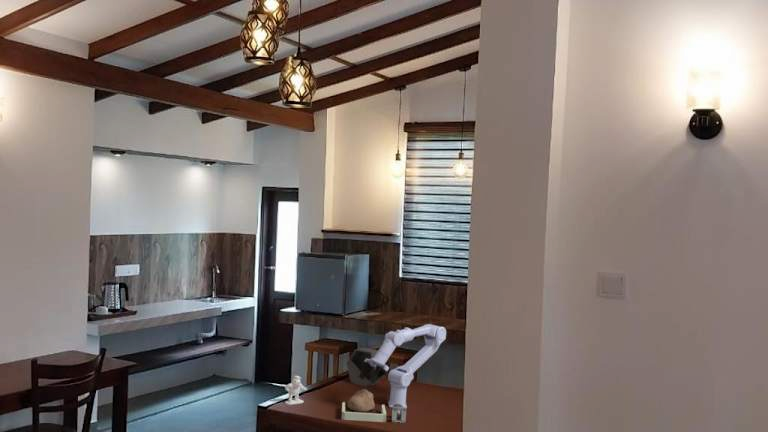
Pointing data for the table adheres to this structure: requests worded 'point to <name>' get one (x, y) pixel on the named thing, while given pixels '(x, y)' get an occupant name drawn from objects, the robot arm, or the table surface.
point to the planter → (356, 366)
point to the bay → (364, 415)
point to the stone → (361, 401)
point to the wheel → (398, 410)
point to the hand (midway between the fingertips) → (366, 380)
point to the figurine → (294, 391)
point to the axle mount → (403, 414)
